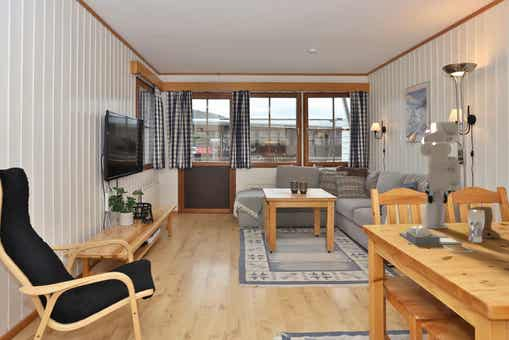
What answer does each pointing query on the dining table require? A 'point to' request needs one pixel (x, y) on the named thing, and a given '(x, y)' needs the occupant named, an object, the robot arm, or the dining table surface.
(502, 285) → the dining table surface
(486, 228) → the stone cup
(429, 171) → the robot arm
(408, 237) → the game board
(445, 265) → the dining table surface
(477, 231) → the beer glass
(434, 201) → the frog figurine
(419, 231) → the dome button
